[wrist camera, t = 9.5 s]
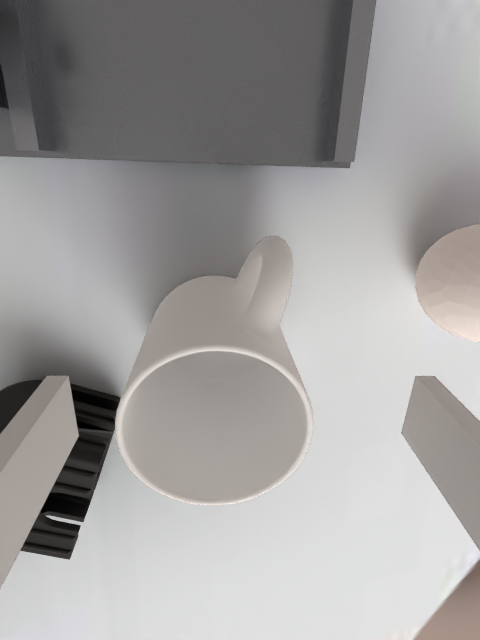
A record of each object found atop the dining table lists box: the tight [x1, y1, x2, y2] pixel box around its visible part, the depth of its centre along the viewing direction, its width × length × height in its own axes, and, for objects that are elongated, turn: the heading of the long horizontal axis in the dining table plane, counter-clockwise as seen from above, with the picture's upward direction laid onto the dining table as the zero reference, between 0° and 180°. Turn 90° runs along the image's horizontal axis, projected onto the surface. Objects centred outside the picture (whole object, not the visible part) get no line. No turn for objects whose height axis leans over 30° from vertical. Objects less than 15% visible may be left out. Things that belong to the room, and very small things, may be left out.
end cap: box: [0, 380, 120, 560], centre depth 24 cm, size 10×7×7 cm
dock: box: [0, 0, 376, 168], centre depth 14 cm, size 22×11×10 cm, turn 88°
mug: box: [115, 236, 314, 506], centre depth 20 cm, size 12×8×10 cm
